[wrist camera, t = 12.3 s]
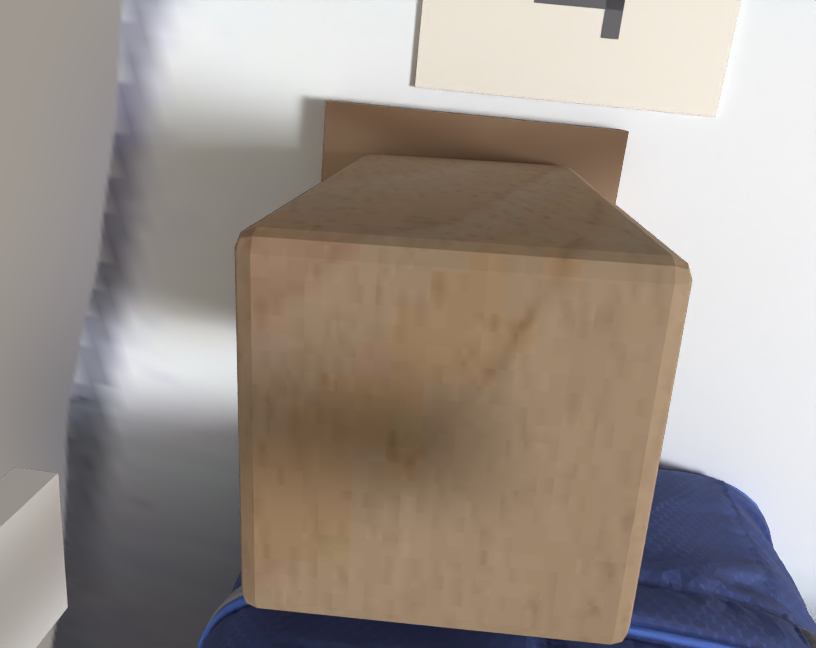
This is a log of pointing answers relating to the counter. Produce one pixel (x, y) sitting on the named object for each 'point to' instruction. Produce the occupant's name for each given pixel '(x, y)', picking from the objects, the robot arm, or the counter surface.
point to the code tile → (581, 50)
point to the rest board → (470, 140)
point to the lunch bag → (654, 601)
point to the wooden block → (453, 397)
